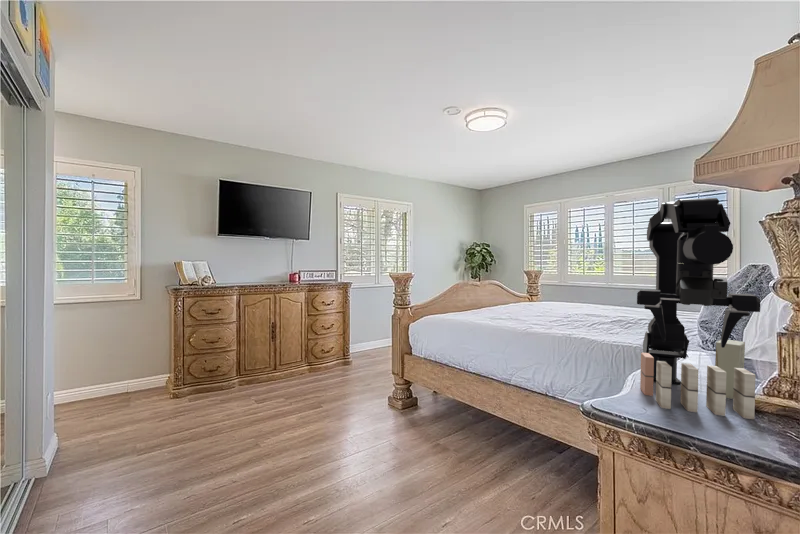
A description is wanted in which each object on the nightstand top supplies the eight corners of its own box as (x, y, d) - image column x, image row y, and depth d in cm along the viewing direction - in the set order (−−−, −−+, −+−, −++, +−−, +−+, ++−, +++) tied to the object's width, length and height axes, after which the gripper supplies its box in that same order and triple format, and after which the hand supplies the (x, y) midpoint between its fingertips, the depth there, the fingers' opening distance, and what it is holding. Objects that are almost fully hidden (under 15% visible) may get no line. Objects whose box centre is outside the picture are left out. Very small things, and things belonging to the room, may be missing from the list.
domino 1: (640, 388, 94) (640, 352, 94) (648, 389, 94) (649, 353, 94) (644, 394, 90) (645, 357, 89) (653, 395, 89) (654, 357, 89)
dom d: (706, 406, 83) (707, 365, 83) (715, 407, 82) (716, 366, 82) (715, 414, 78) (716, 371, 78) (725, 415, 78) (726, 372, 78)
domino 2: (680, 403, 85) (681, 362, 85) (689, 404, 84) (690, 363, 84) (687, 411, 80) (688, 368, 80) (697, 412, 79) (698, 369, 79)
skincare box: (719, 390, 94) (720, 338, 94) (744, 395, 91) (745, 341, 90) (713, 395, 90) (714, 341, 90) (739, 401, 86) (740, 344, 86)
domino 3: (732, 409, 81) (733, 367, 81) (742, 410, 81) (743, 368, 81) (743, 418, 77) (744, 373, 77) (754, 419, 76) (755, 374, 76)
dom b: (655, 400, 86) (656, 360, 86) (664, 401, 86) (665, 361, 86) (661, 407, 82) (662, 366, 81) (670, 409, 81) (671, 367, 81)
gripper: (636, 263, 76) (634, 345, 76) (768, 265, 66) (765, 360, 66) (639, 262, 85) (637, 335, 86) (755, 264, 75) (752, 347, 75)
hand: (692, 344), depth 78 cm, fingers open, 9 cm apart
